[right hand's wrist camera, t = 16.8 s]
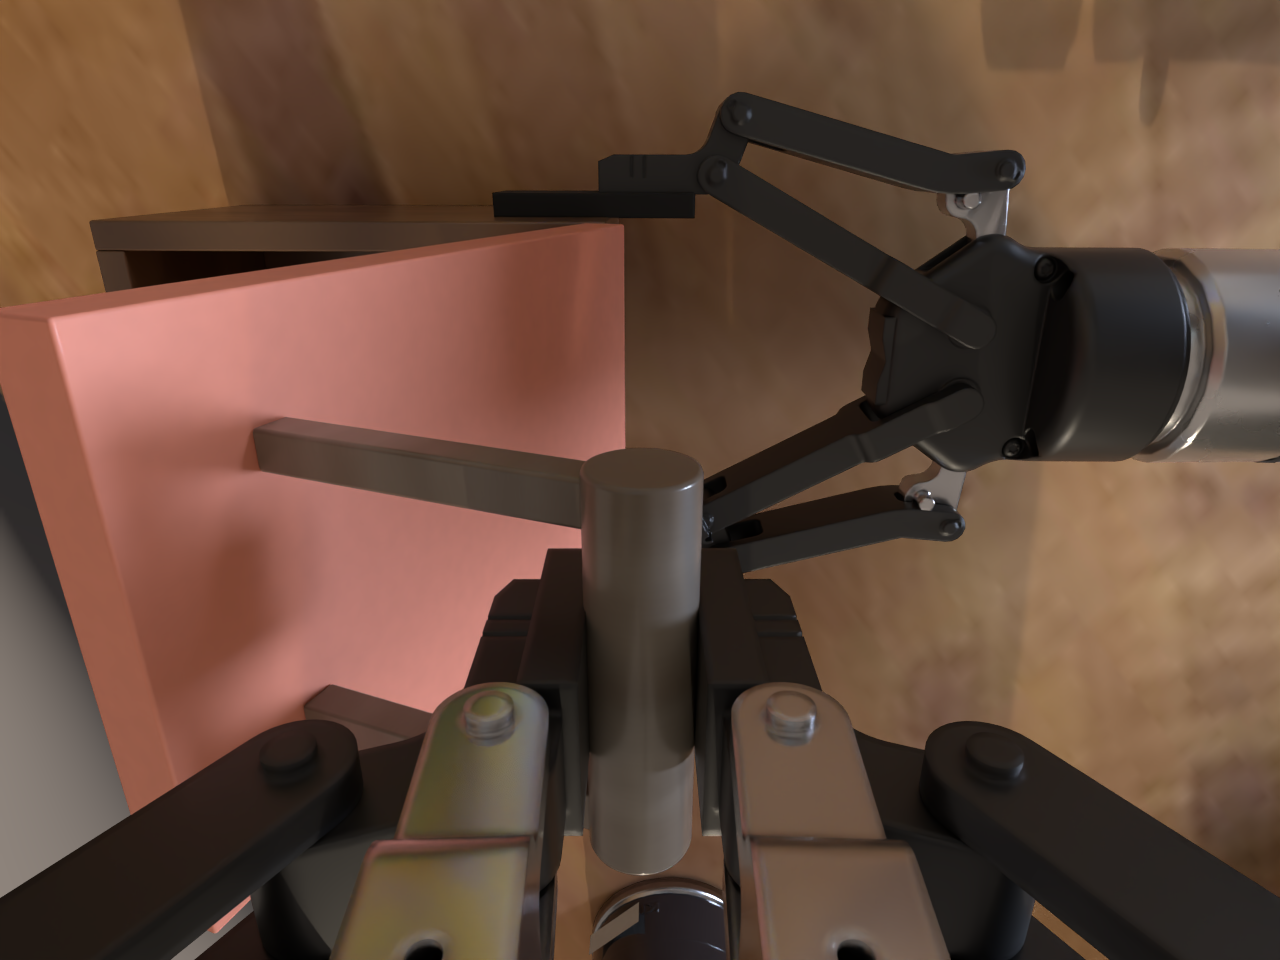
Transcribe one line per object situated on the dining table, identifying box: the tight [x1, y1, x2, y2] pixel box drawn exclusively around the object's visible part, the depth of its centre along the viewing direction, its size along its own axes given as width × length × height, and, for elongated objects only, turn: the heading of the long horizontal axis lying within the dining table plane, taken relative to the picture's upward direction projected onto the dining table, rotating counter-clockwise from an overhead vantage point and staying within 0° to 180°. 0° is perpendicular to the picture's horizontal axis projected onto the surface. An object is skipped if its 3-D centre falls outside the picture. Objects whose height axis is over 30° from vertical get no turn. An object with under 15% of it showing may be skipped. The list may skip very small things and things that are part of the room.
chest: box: [90, 205, 619, 292], centre depth 30 cm, size 16×10×10 cm, turn 90°
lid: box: [0, 223, 704, 933], centre depth 17 cm, size 16×10×8 cm
